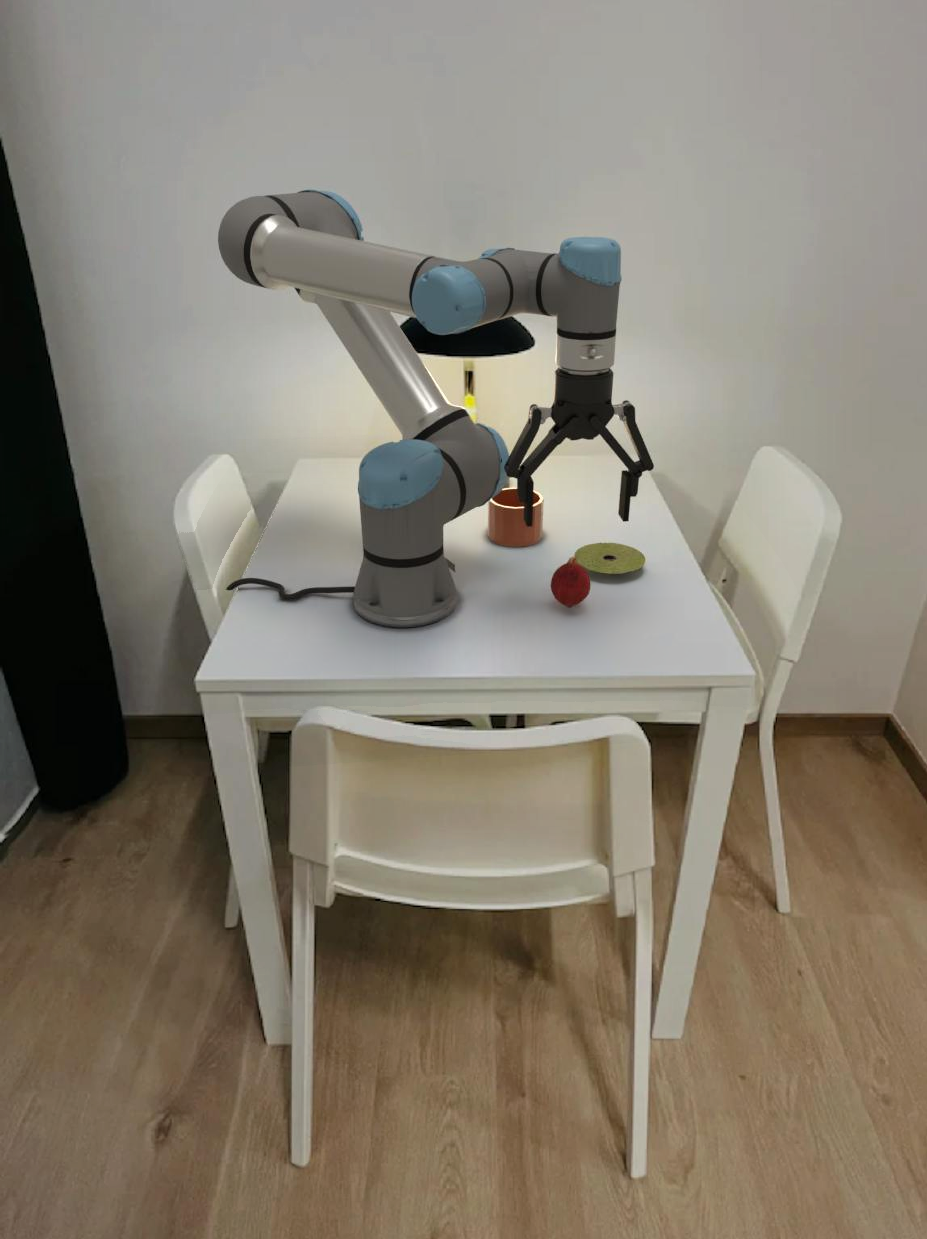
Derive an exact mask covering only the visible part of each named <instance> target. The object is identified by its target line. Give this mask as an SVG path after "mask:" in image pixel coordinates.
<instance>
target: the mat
mask: <svg viewBox="0 0 927 1239" xmlns="http://www.w3.org/2000/svg"><path fill="white" fill-rule="evenodd" d="M573 557H575V558H576V559H577V564H579V565H581V566H582V567H583V568H584V569H585V570H586V569H587V570H589V571H592V572H595V573H596V572H597V573H601V574H602V573H603V574H610V575H611V574H612V575H616V574H617V575H620V574H626V573H631V572H635V571H636V570H639V569H641V568H642V567H643V566H644V565H645V563H646V556H645V554H644V553H642V551H640V550H639V549H636V548H635V547H632V546H629V545H626V544H623V543H618V542H596V543H590V544H586V545H584V546H581V547H579V548H577V549H576V551H575V552H574V554H573Z"/></svg>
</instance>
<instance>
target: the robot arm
mask: <svg viewBox="0 0 927 1239" xmlns="http://www.w3.org/2000/svg"><path fill="white" fill-rule="evenodd" d="M363 230H364V229H363V225H362V222H361V220H360V217H359V215H358V214H357V212H356V211H355V209H354V208H353V206H352V205H351V204H350V203H349V202H348V201H347V200H346V199H345V198H344V197H342V196H341V195H339V194H338V193H335V192H333V191H329V190H318V189H303V190H300V191H297V192H289V193H279V194H268V195H254V196H249V197H246V198H244V199H241V200H239V201H237V202H235V203H234V204H233V205H232V206H230V208H229V209H228V210H227V211H226V212H225V214H224V215H223V218H222V219H221V222H220V225H219V229H218V232H217V244H218V251H219V253H220V256H221V259H222V261H223V263H224V265H225V266H226V267H227V269H228V270H229V272H231V273H232V274H233V276H235V277H236V278H237V279H239V280H240V281H242V282H244V283H247V284H249V285H253V286H256V287H259V288H264V289H267V290H272V291H280V290H285V289H286V288H288V287H291V288H294V290H295V291H296V293H297V294H298V296H299V297H300V299H301V300H302V301H303V302H306V303H309V304H315V305H316V306H318V308H319V310H320V311H321V313H322V314H323V316H324V317H325V319H326V320H327V322H328V324H329V325H330V327H331V328H332V329H333V331H334V332H335V334H336V336H337V338H338V339H339V340H340V342H341V344H342V345H343V347H344V348H345V349H346V351H347V352H348V354H349V356H350V357H351V359H352V360H353V362H354V363H355V365H356V366H357V368H358V370H359V371H360V373H361V374H362V375H363V377H364V379H365V381H366V382H367V383H368V385H369V386H370V388H371V389H372V391H373V392H374V394H375V395H376V397H377V398H378V400H379V402H380V403H381V405H382V406H383V408H384V410H385V412H386V413H387V414H388V415H389V417H390V419H391V420H392V422H393V423H394V425H395V427H396V428H397V429H398V431H399V432H400V434H401V436H402V439H400V440H399V441H397V442H394V441H388V442H386V443H383V444H379V445H378V446H376V447H374V448H372V449H371V450H369V451H368V452H367V453H366V454H365V455H364V457H363V458H362V459H361V461H360V464H359V467H358V482H357V494H358V499H359V513H360V525H361V527H360V528H361V539H362V553H363V554H362V555H363V556H362V562H361V564H360V569H359V572H358V574H357V579H356V582H355V585H353V586H320V587H319V586H317V587H316V586H315V587H308V588H303V589H300V590H298V591H296V592H292V593H286V590H285V587H284V586H283V585H282V584H281V583H278V582H275V581H272V580H268V579H263V578H260V577H259V578H257V577H245V578H240V579H236V580H235V581H233V582H231V583H230V584H229V585H228V586H227V587H226V588H225V590H226V591H233V590H234V589H236V588H238V587H240V586H243V585H247V584H248V585H260V586H265V587H269V588H272V589H275V590H278V595H279V597H280V598H281V600H286V601H294V600H296V599H299V598H301V597H304V596H306V595H311V594H312V595H313V594H345V593H346V594H347V593H349V594H351V593H353V606H354V609H355V612H356V613H357V614H358V615H359V616H360V617H361V618H363V619H364V620H366V621H368V622H371V623H373V624H376V625H380V626H385V627H391V628H392V627H393V628H413V627H421V626H426V625H429V624H434V623H436V622H438V621H440V620H443V619H444V618H446V617H447V616H449V615H450V614H451V613H452V612H453V611H454V610H455V608H456V606H457V602H458V598H457V597H458V596H457V595H458V594H457V593H458V592H457V587H456V584H455V581H454V578H453V575H452V573H451V571H452V572H454V573H456V564H455V563H454V562H452V561H451V560H449V559H448V558H447V557H445V552H444V551H445V550H444V526H445V525H446V524H448V523H450V522H452V521H454V520H456V519H457V518H459V517H461V516H464V514H467V513H468V512H470V511H473V510H474V509H476V508H480V507H483V506H485V505H486V504H488V501H490V500H491V499H492V498H493V497H495V496H496V495H497V494H499V493H500V492H501V490H502V489H504V488H505V486H506V484H507V482H508V480H509V478H513V479H516V482H517V483H516V486H517V487H516V488H517V497H518V499H519V501H520V502H524V521H525V523H526V525H527V527H530V526H532V522H533V490H534V485H535V482H534V480H533V478H532V475H533V474H534V473H535V472H536V471H537V470H538V469H539V467H540V466H541V465H542V464H543V463H544V462H545V460H546V459H547V458H548V457H549V456H550V455H551V453H553V451H554V450H555V449H556V448H557V447H558V446H559V445H561V444H562V443H563V442H564V441H565V440H566V439H568V440H570V441H579V440H582V439H583V440H586V441H587V440H588V441H590V440H591V441H592V440H594V439H595V438H597V437H598V436H600V437H601V438H602V439H603V440H604V442H605V443H606V444H607V446H609V448H610V449H611V450H612V452H614V454H615V455H616V456H617V457H618V459H619V460H620V461H621V462H622V463H623V465H624V466H625V467H626V468H627V470H626V469H625V470H621V476H620V486H619V487H620V488H619V500H618V513H617V515H618V516H619V517H620V519H621V521H622V522H625V523H626V522H629V520H630V519H629V518H630V511H631V510H630V509H631V498H634V497H637V495H638V494H639V493H638V492H639V482H640V478H641V477H642V476H643V472H646V471H648V472H651V471H652V470H653V469H654V468H655V465H654V462H653V460H652V457H651V455H650V453H649V451H648V448H647V446H646V442H645V441H644V438H643V435H642V434H641V431H640V428H639V427H638V423H637V422H636V407H635V406H634V404H632V403H631V401H630V400H628V399H627V400H626V399H625V400H623V401H622V402H621V403H619V404H613V400H612V399H613V387H614V386H613V385H614V371H613V370H612V368H613V366H614V365H615V357H616V356H615V355H616V354H615V353H616V340H617V339H616V338H617V322H618V311H619V310H618V309H619V298H620V287H621V282H622V274H621V273H622V271H621V270H622V268H621V267H622V249H621V245H620V243H619V242H617V241H616V240H615V239H613V238H609V237H602V236H575V237H568V238H566V239H563V240H562V242H561V243H560V246H559V252H557V253H556V252H553V253H550V252H541V251H531V250H522V249H515V248H514V247H506V248H489V249H486V250H484V251H483V252H482V253H481V256H479V257H477V259H471V260H465V261H461V260H460V261H459V260H453V259H449V258H445V257H439V256H435V255H431V254H426V253H422V252H417V251H413V250H407V249H403V248H398V247H393V246H389V245H383V244H379V243H374V242H370V241H365V237H364V236H362V232H363ZM393 314H398V315H402V316H406V317H410V318H414V319H416V320H417V321H418V322H419V324H420V325H422V326H423V327H424V328H425V329H426V330H427V332H428V333H429V332H430V333H432V334H434V335H439V336H445V335H451V334H453V335H456V334H457V335H458V334H462V333H465V332H467V331H469V330H471V329H474V328H477V327H479V326H480V327H481V326H483V325H486V324H487V325H488V324H490V323H493V322H497V321H499V320H504V319H506V318H510V317H513V316H517V315H520V314H530V315H539V316H545V317H556V343H555V360H554V361H555V362H554V364H555V365H556V366H557V368H556V370H555V371H554V388H553V391H554V392H553V393H554V394H553V402H552V404H551V406H550V407H545V406H544V407H543V406H538V405H537V403H536V404H535V403H532V404H531V405H530V406H529V408H528V409H529V410H528V417H527V421H526V423H525V424H524V427H523V429H522V430H521V433H520V434H519V436H518V439H517V441H516V442H515V444H514V446H513V448H512V450H511V452H509V449H508V447H507V444H506V442H505V440H504V438H503V437H502V435H501V434H500V433H499V432H498V431H497V430H496V429H495V428H494V427H492V426H490V425H486V424H485V423H481V422H474V420H473V419H472V417H471V416H470V414H469V413H468V411H467V409H466V408H465V407H464V406H460V405H455V404H452V403H451V402H449V400H448V399H447V397H446V395H445V394H444V393H443V391H442V390H441V388H440V386H439V385H438V384H437V382H436V381H435V379H434V377H433V376H432V374H431V373H430V371H429V370H428V368H427V367H426V365H425V363H424V362H423V360H422V359H421V357H420V356H419V354H418V353H417V351H416V349H415V348H414V347H413V345H412V343H411V342H410V341H409V339H408V337H407V336H406V334H405V333H404V331H403V330H402V327H401V326H400V325H399V323H398V322H397V320H396V318H395V317H394V316H393ZM614 415H616V416H617V418H618V419H619V421H621V422H623V425H624V427H625V430H626V432H627V434H628V437H629V439H630V442H631V444H632V446H633V448H634V452H635V453H636V455H637V457H638V458H637V459H638V460H637V461H634V459H633V458H632V457H631V456H630V454H628V452H627V451H626V450H625V449H624V447H623V446H622V445H621V444H620V443H619V441H618V440H617V439H616V437H615V436H614V435H613V433H611V431H610V430H609V429H608V428H607V426H608V424H609V423H610V421H611V420H612V419H613V417H614ZM549 418H551V420H552V421H553V422H554V424H553V425H552V426H551V427H550V429H549V430H548V432H547V434H546V435H545V437H544V438H543V439H542V440H541V441H540V442H539V443H538V445H537V446H536V447H535V448H534V449H533V450H532V451H531V453H530V454H529V455H528V456H527V457H526V455H527V453H528V452H529V449H530V447H531V445H532V444H533V442H534V440H535V438H536V437H537V434H538V432H539V430H540V426H541V425H544V424H545V423H546V421H547V420H548V419H549ZM525 457H526V459H525ZM534 491H535V490H534Z"/></svg>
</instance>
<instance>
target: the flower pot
mask: <svg viewBox="0 0 927 1239" xmlns="http://www.w3.org/2000/svg"><path fill="white" fill-rule="evenodd" d="M544 500H545V499H544V496H543V494H541V493H540V492H538V491H536V490H533V522H532V526H530V527H527V525H526V523H525V521H524V502H520V501H519V499H518V497H517V487H504V488H503V489H502V490H501V492H500V493H499V494H497V495H496V496H495V497H493V498H492V499H491V500H490V501H488V502H487V537H488V539H489V540H490V541H492V543H494V544H497V545H499V546H503V547H510V548H523V547H529V546H533V545H535V544H537V543H538V542H540V541H541V539H542V537H543V536H542V535H543V527H544V526H543V525H544V524H543V523H544V522H543V521H544V505H545V504H544V502H545V501H544Z"/></svg>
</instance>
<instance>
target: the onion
mask: <svg viewBox="0 0 927 1239" xmlns="http://www.w3.org/2000/svg"><path fill="white" fill-rule="evenodd" d="M550 591H551V594H552V595H553V597H554V599H555V600H556V601H557V602H559V604H561V605H563V606H565V607H566V608H572V607H574V606H576V605H579V604H581V603H582V602H583V601H584V600H585V599H586V598H587V597H588V596H589V594H590V591H591V578H590V575H589V572H588V571H587V570H586V568H585V567H583V566H581V565H580V564H579V563H577V559H576V558H575V557H574V556H572V557H569V559H568V561H567V562H566V563H564V564H562V565H560V566H559V567H558V568H557V569H556V570H555V571H554V572H553V575H552V577H551V581H550Z"/></svg>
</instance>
